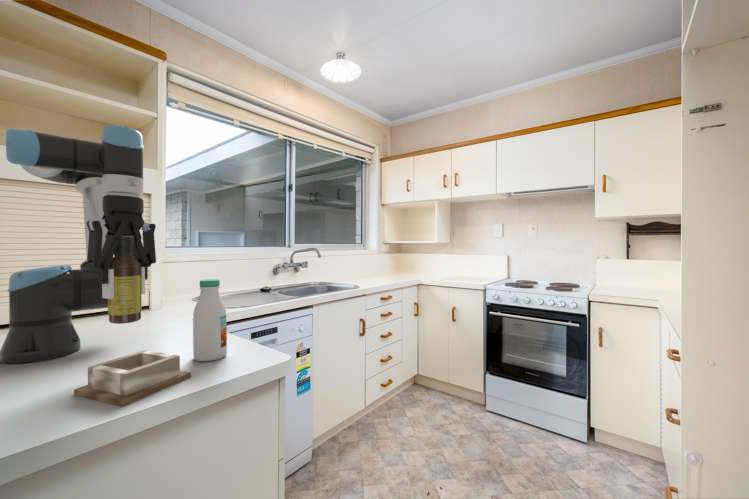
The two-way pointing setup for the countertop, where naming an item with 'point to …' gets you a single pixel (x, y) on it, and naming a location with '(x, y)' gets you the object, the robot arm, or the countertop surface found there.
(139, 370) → the socket board
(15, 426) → the countertop surface
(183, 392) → the countertop surface
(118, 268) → the sauce bottle
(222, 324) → the milk bottle
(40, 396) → the countertop surface
